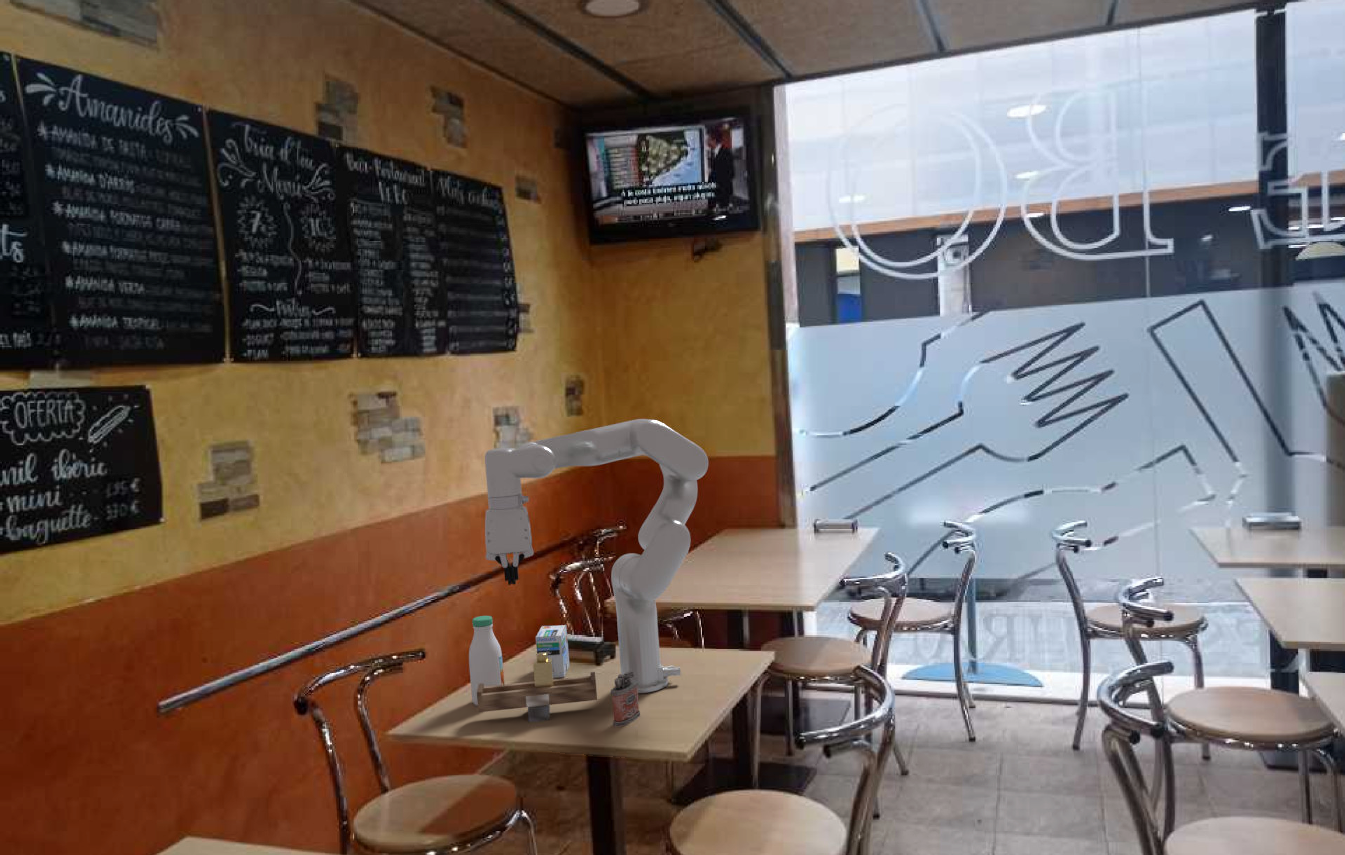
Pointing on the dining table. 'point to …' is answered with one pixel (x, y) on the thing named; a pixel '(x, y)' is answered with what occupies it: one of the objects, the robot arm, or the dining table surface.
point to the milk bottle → (484, 656)
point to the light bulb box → (554, 647)
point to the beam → (536, 696)
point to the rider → (543, 671)
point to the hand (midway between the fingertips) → (512, 583)
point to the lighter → (625, 699)
